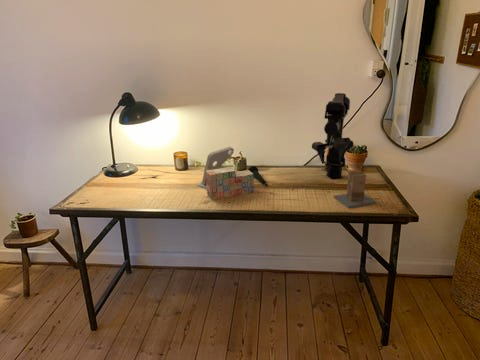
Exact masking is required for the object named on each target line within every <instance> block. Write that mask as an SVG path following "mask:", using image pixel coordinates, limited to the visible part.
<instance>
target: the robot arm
mask: <svg viewBox="0 0 480 360" xmlns="http://www.w3.org/2000/svg"><path fill="white" fill-rule="evenodd" d="M350 107H351V100H350V98H349V97H348V96H347V95H346V93H341V92H340V93H339V92H338V93H334V97H333V98H332V100H330V101H328V102H327V103H326V105H325V111H324V112H325V113H324V119H325V120H327V122H326V124H325V126H323V127H324V128H323V130H324V133H325V134H326V139H325V140H324V142H325V143H323V142H321V141H315V142H313V143H312V144H311V149H313V150H314V151H316V153H317V155H318V156H319V159H320V162H321V164H322V165H324V163H325V153H326V152H327V151H326V148H329V149H328V152H327V154H326V163H325V165H326V167H327V168H326V169H327V171H326V175H325V176H326V177H328V178H330V179H331V180H337V179H342V178H344V177H343V175H342V173H343V168H344V167H346V158H345V154H346V152H347V151H349V150H351V148H354V143H355V142H354V141H353V140H351V138H350V137H348V136H347V137H343V131H344V122H345V121H344V120H345V118H346V116H347V115H348V114H349V111H350Z"/></svg>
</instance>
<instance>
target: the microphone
mask: <svg viewBox="0 0 480 360" xmlns="http://www.w3.org/2000/svg"><path fill="white" fill-rule="evenodd" d="M247 170H249V171H250V172H252V173H253V174H254V180H256V181H258V182H259V183H260V184H261V185H263V186H265V187H267V188H268V184H267V181H266V180H265V179H264V177H263V176H262V175H261V174H260V172H259V169H258V167H257V166H255V165H251V166H249V167H248V168H247Z"/></svg>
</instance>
